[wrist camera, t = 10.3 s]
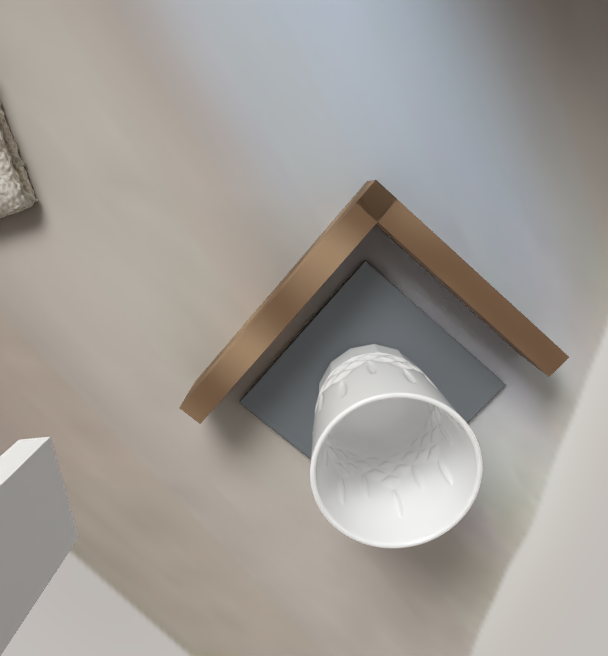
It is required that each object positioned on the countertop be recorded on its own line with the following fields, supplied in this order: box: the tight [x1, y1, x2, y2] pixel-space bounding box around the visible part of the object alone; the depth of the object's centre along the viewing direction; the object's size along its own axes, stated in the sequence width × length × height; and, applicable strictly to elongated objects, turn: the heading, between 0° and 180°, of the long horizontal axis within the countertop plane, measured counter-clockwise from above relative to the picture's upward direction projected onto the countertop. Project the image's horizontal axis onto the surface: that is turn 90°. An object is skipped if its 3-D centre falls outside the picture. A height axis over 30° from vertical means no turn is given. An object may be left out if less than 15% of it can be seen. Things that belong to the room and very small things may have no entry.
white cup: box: [310, 344, 483, 548], centre depth 29 cm, size 8×8×10 cm
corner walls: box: [180, 180, 569, 424], centre depth 32 cm, size 16×14×4 cm
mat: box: [240, 261, 506, 459], centre depth 34 cm, size 12×12×1 cm
